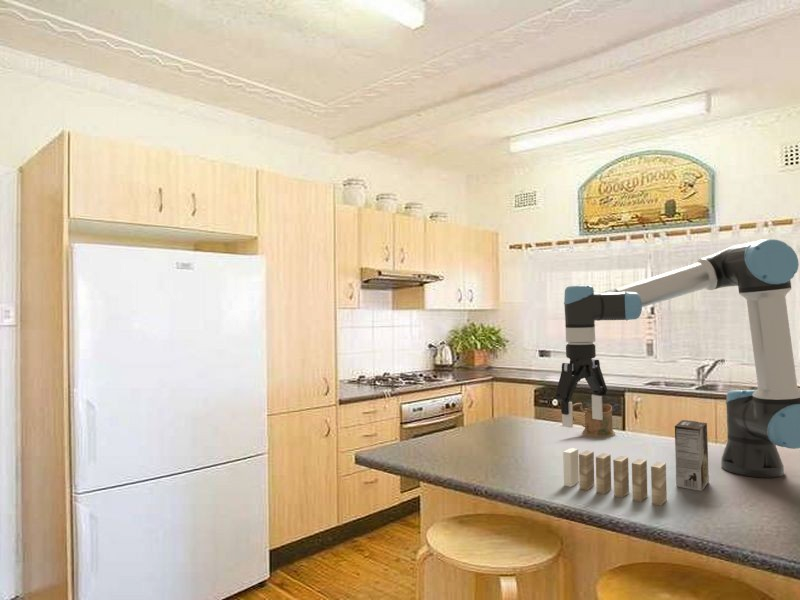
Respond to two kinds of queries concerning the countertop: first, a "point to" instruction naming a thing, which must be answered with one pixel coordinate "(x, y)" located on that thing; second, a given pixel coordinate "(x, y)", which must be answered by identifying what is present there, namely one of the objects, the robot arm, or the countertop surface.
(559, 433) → the countertop surface
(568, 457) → the domino
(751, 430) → the robot arm
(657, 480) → the domino
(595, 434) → the mug
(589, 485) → the domino
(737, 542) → the countertop surface
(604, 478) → the domino
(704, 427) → the coffee box
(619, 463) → the domino
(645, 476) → the domino
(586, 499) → the countertop surface
